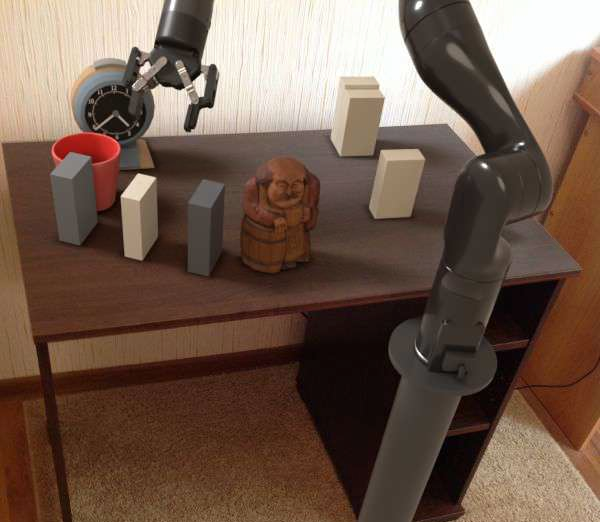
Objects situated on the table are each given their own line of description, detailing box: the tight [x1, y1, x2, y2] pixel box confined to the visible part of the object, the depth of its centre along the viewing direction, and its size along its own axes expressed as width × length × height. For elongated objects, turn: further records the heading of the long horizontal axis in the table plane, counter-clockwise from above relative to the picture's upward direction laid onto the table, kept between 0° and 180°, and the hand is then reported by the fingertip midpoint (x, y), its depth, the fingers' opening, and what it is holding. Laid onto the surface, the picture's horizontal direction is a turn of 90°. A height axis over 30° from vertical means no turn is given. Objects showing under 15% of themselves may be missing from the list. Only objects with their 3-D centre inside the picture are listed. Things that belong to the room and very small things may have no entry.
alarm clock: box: [69, 57, 156, 171], centre depth 133 cm, size 14×10×18 cm
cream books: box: [330, 76, 426, 220], centre depth 141 cm, size 29×7×13 cm, turn 15°
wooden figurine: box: [239, 155, 321, 274], centre depth 117 cm, size 12×6×18 cm, turn 119°
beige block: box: [120, 173, 159, 262], centre depth 118 cm, size 7×3×11 cm, turn 167°
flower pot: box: [51, 132, 121, 212], centre depth 126 cm, size 11×11×10 cm
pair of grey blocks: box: [49, 152, 226, 277], centre depth 117 cm, size 7×25×13 cm, turn 77°
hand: (160, 124), depth 117 cm, fingers open, 8 cm apart
